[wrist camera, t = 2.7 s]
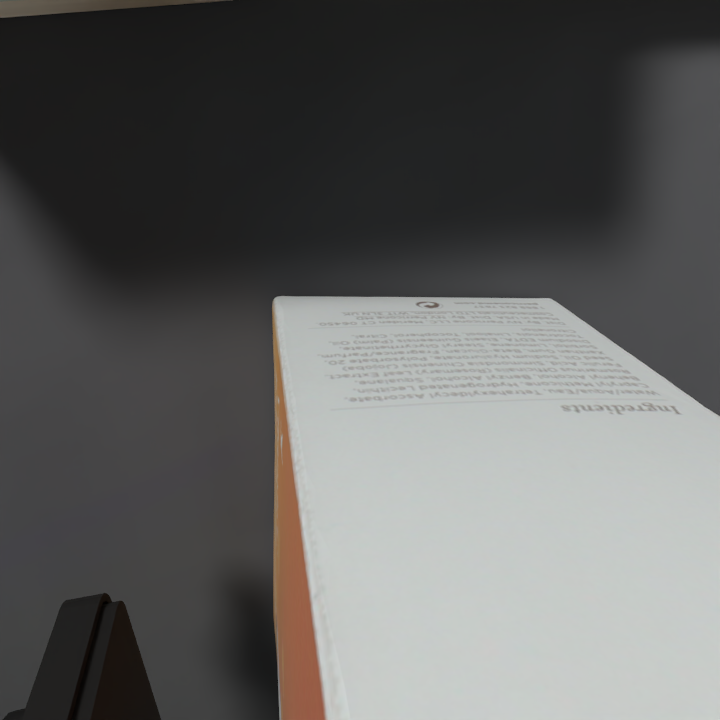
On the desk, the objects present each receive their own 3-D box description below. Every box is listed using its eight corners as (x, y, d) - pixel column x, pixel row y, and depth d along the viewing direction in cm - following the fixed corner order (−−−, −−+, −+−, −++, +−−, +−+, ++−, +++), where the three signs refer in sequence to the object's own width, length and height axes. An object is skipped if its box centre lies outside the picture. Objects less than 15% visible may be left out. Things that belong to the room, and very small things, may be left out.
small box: (269, 287, 12) (372, 1209, 2) (553, 291, 13) (1533, 926, 3) (268, 620, 15) (304, 1616, 5) (496, 602, 16) (890, 1411, 6)
